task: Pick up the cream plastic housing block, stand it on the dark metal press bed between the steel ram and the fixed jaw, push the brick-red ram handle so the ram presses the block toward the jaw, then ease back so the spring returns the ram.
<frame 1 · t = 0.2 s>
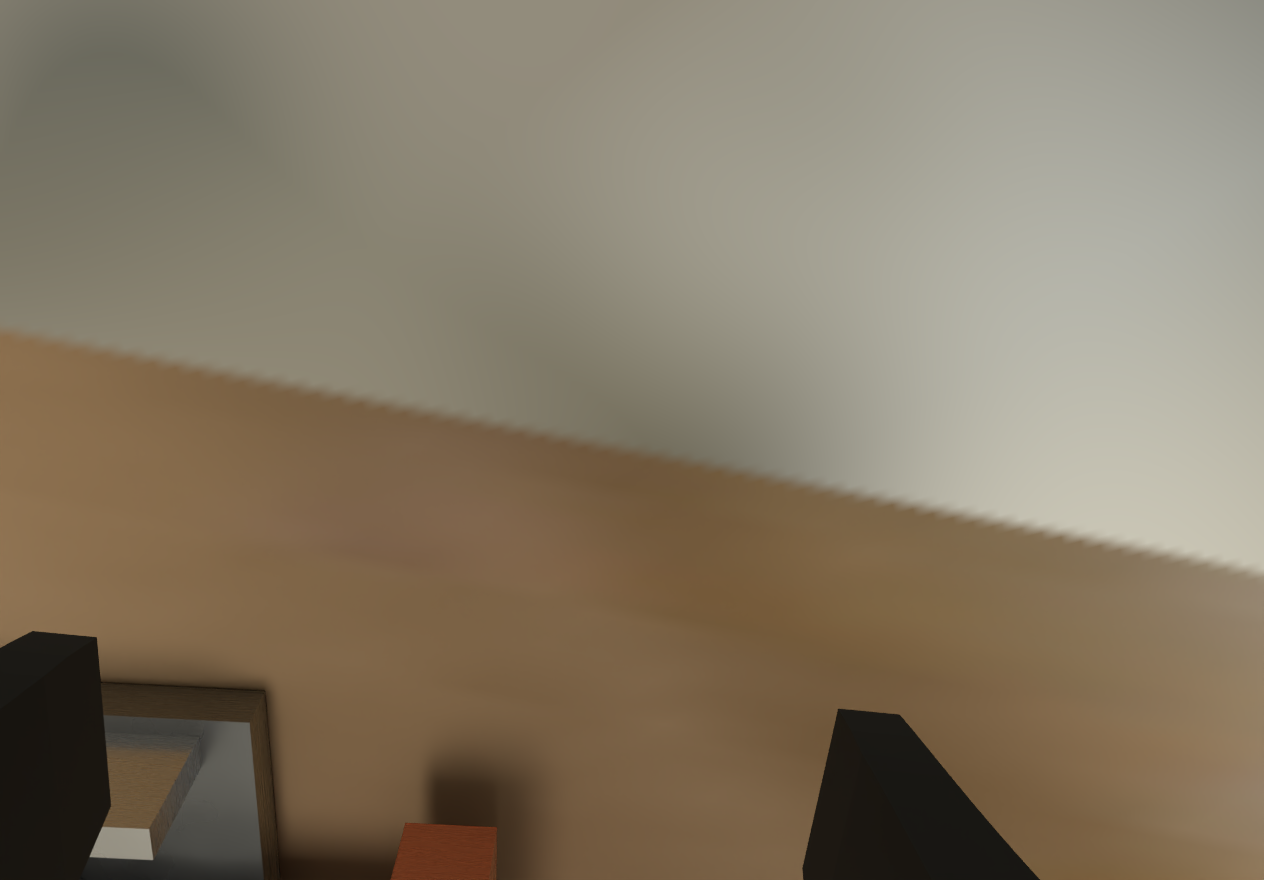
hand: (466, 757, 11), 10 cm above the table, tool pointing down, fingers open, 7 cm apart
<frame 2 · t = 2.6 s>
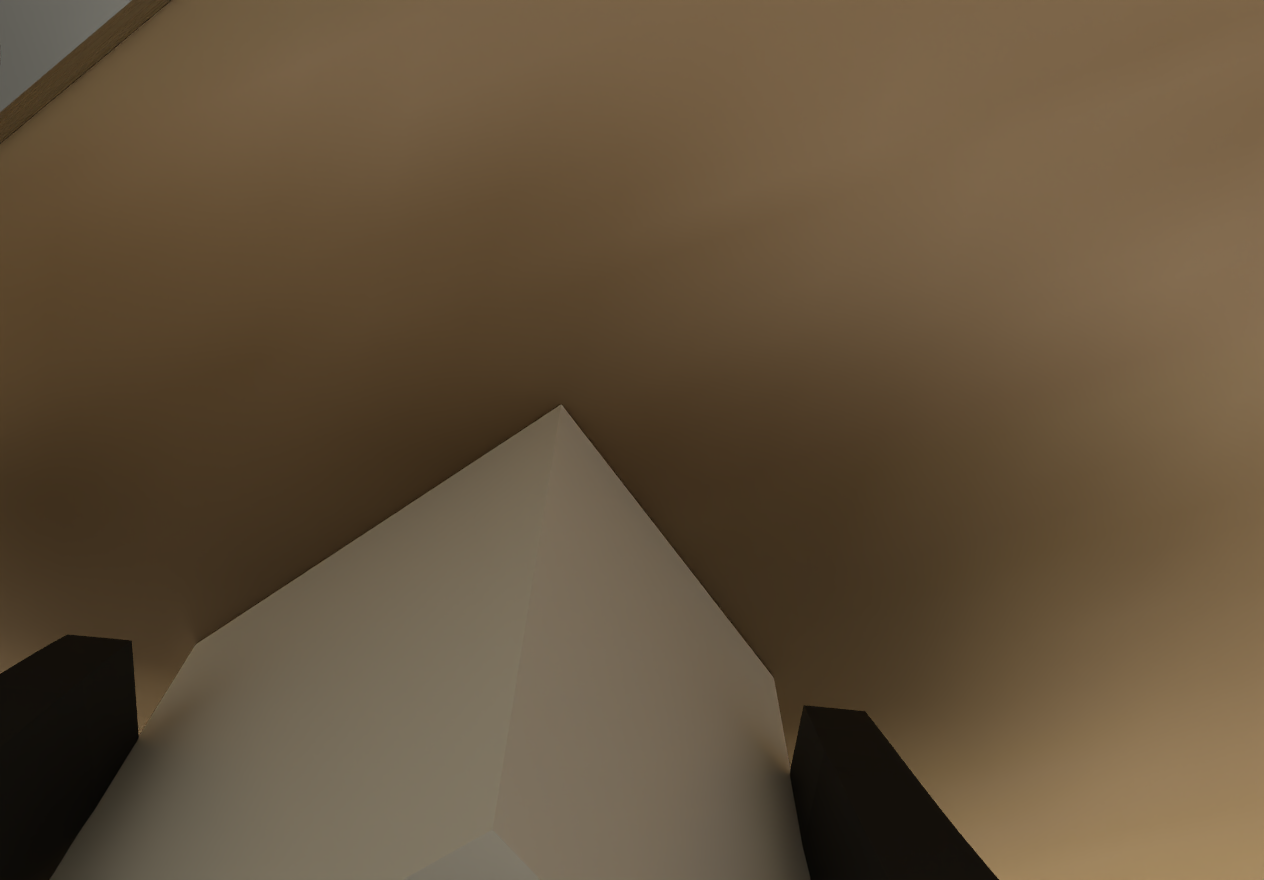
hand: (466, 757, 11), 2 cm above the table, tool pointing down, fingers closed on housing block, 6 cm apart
housing block: (486, 661, 13), on the table, touching gripper
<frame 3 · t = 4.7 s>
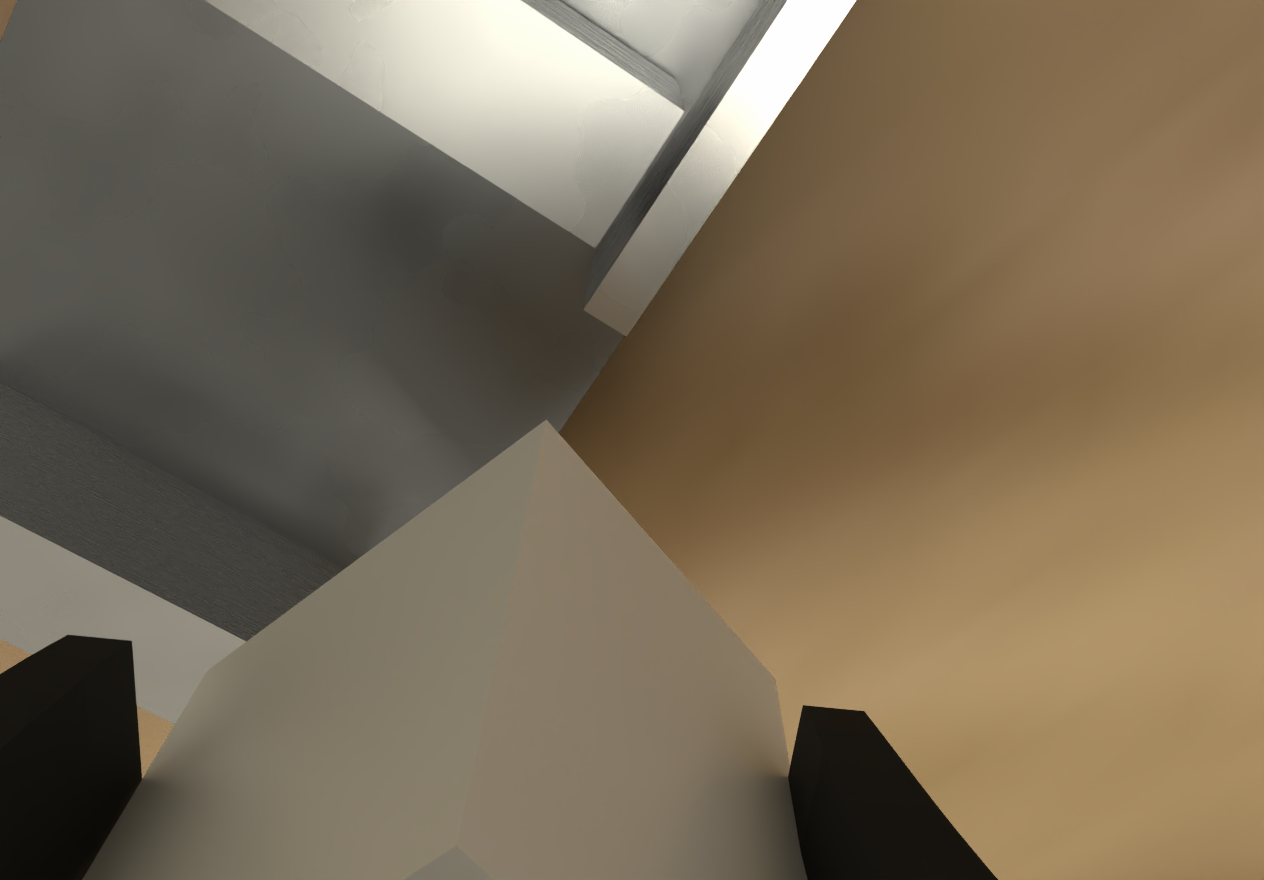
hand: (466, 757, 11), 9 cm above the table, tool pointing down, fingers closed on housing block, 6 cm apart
housing block: (490, 674, 13), point 8 cm above the table, touching gripper
press bed: (352, 165, 18), on the table
when the fingers open (4 cm above the table, at t = 7.0 s): housing block stays where it is, resting on press bed.
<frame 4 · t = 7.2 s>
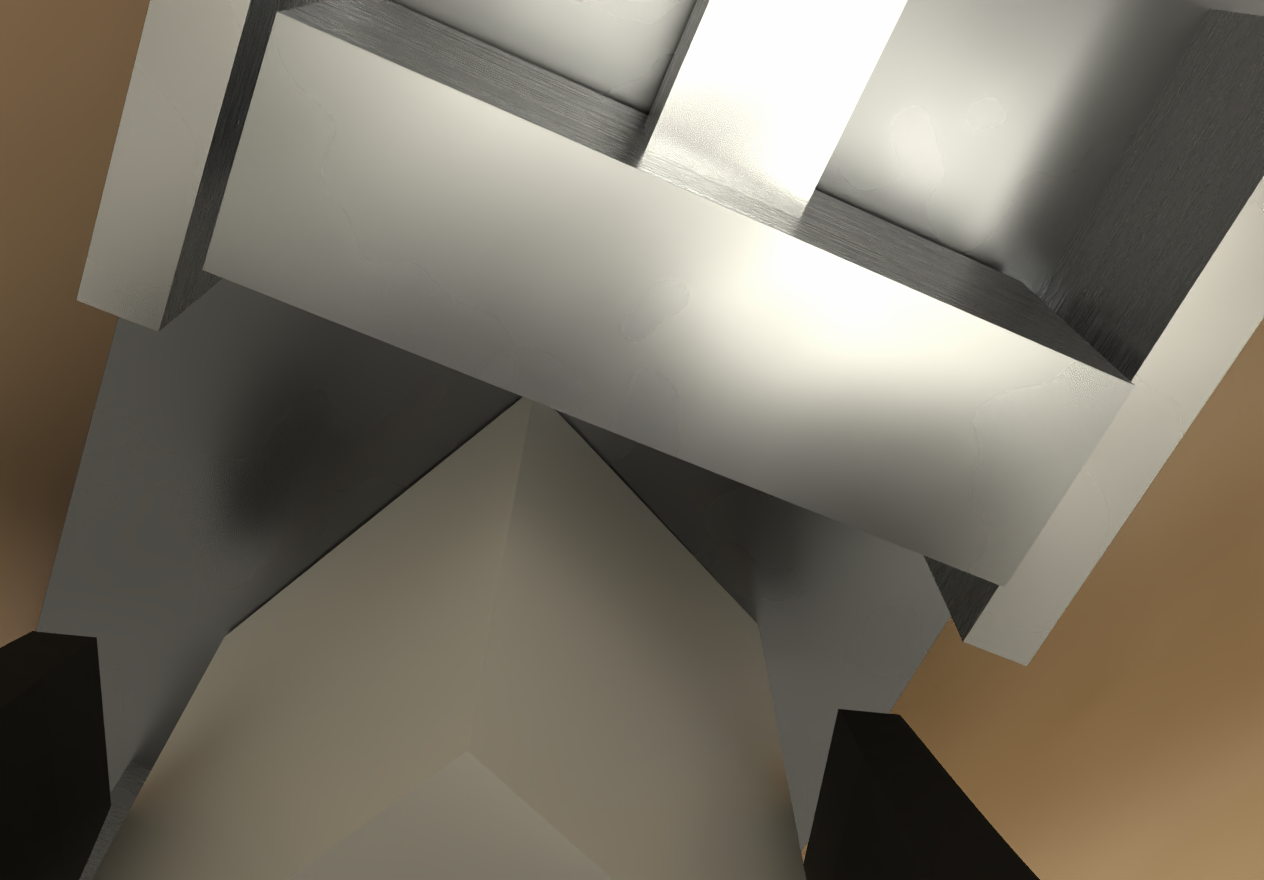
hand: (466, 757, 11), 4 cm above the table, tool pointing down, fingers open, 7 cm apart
housing block: (491, 630, 14), point 1 cm above the table, touching press bed
press bed: (564, 434, 14), on the table
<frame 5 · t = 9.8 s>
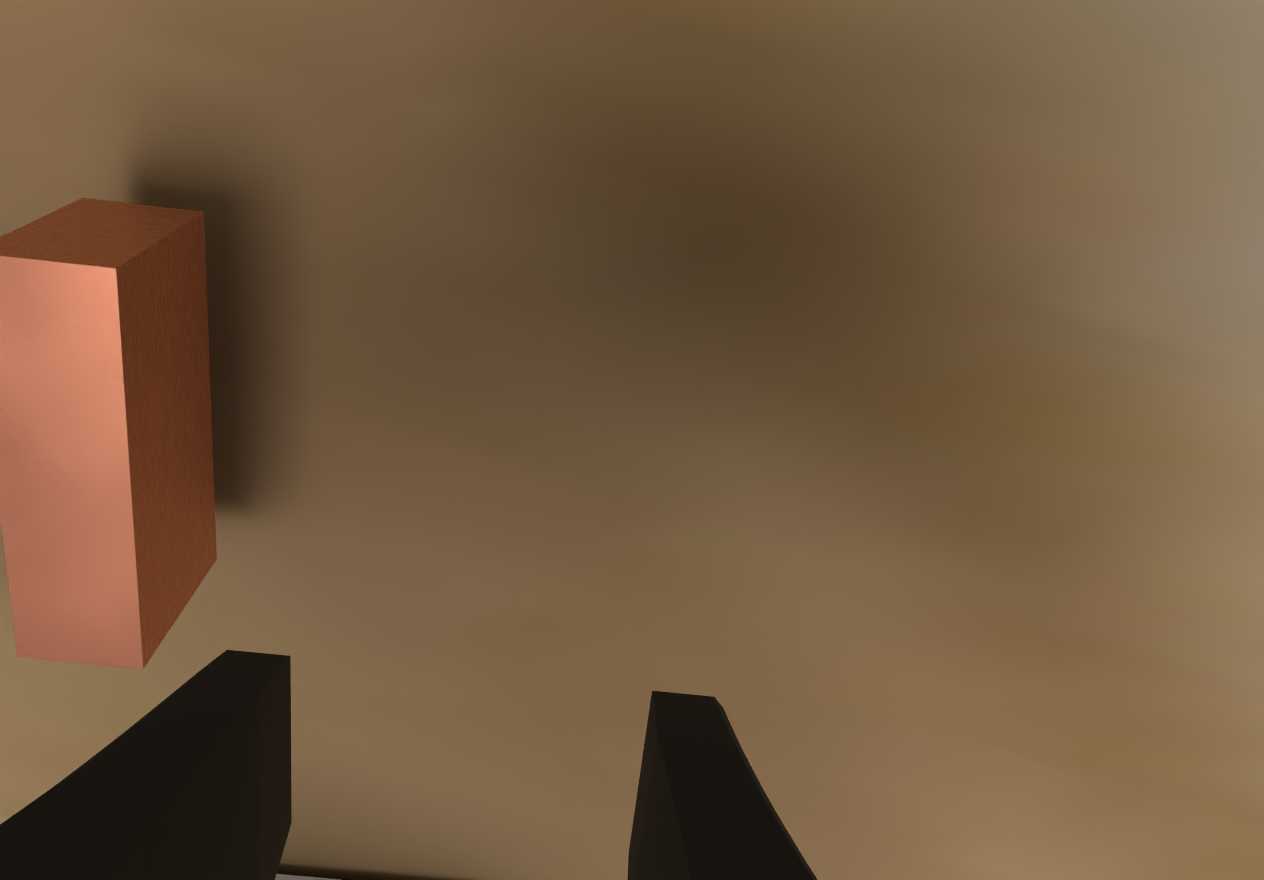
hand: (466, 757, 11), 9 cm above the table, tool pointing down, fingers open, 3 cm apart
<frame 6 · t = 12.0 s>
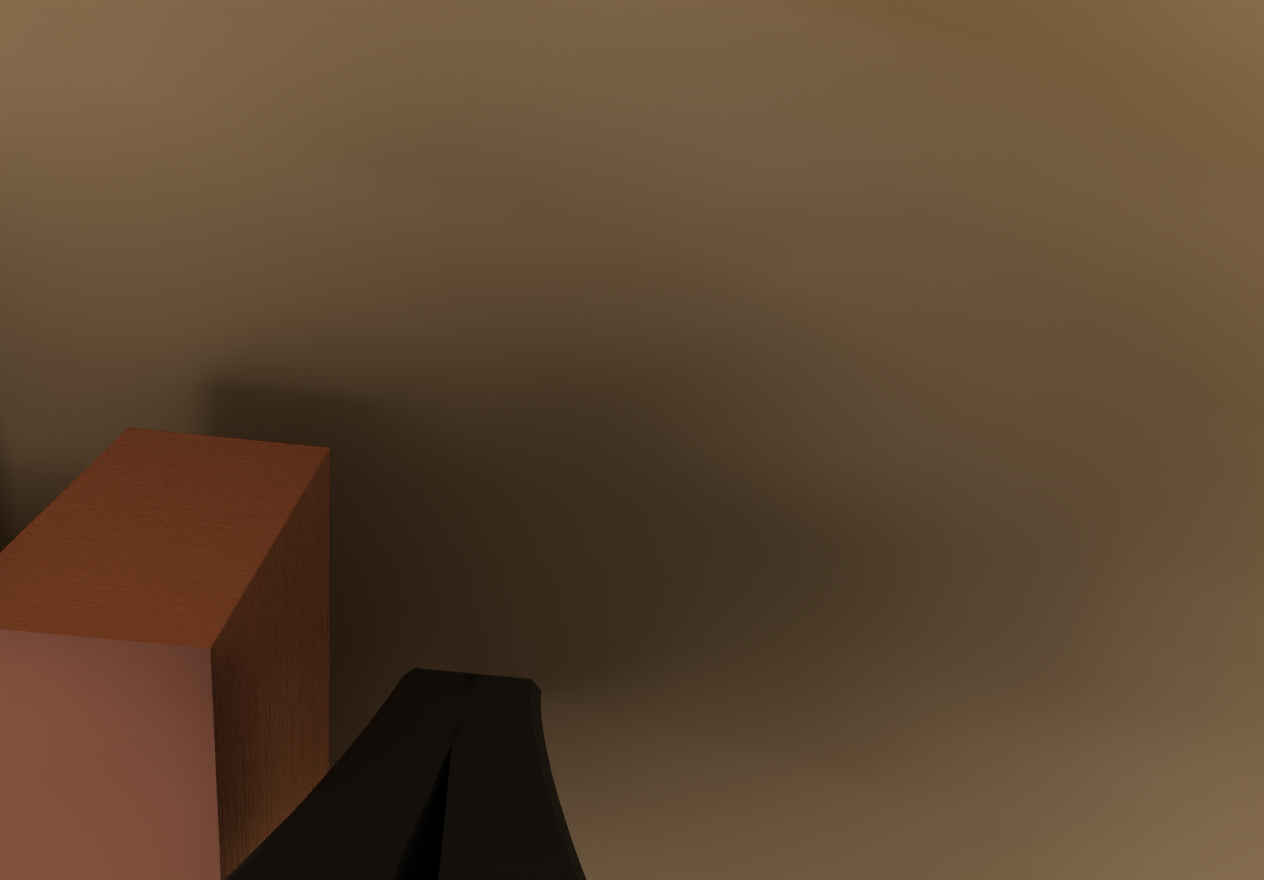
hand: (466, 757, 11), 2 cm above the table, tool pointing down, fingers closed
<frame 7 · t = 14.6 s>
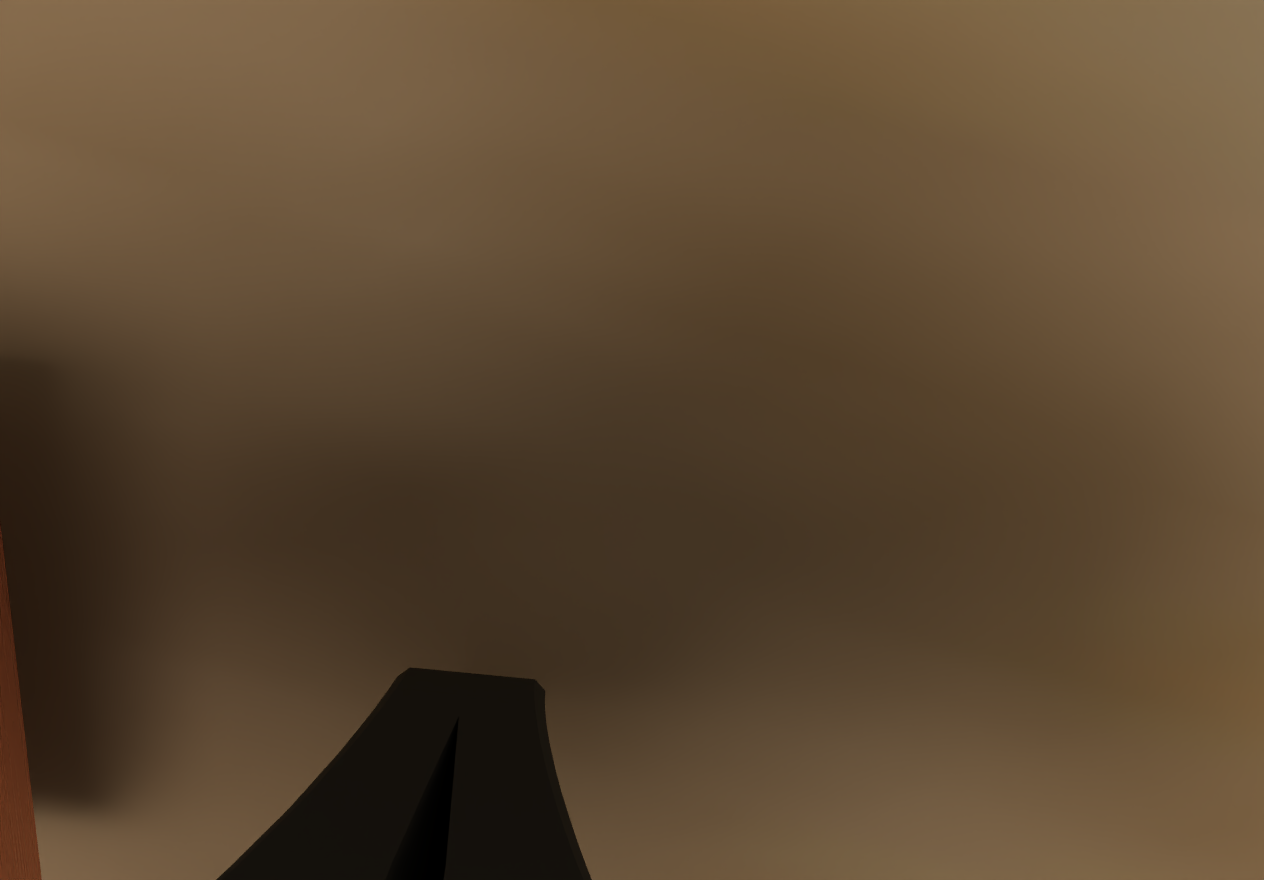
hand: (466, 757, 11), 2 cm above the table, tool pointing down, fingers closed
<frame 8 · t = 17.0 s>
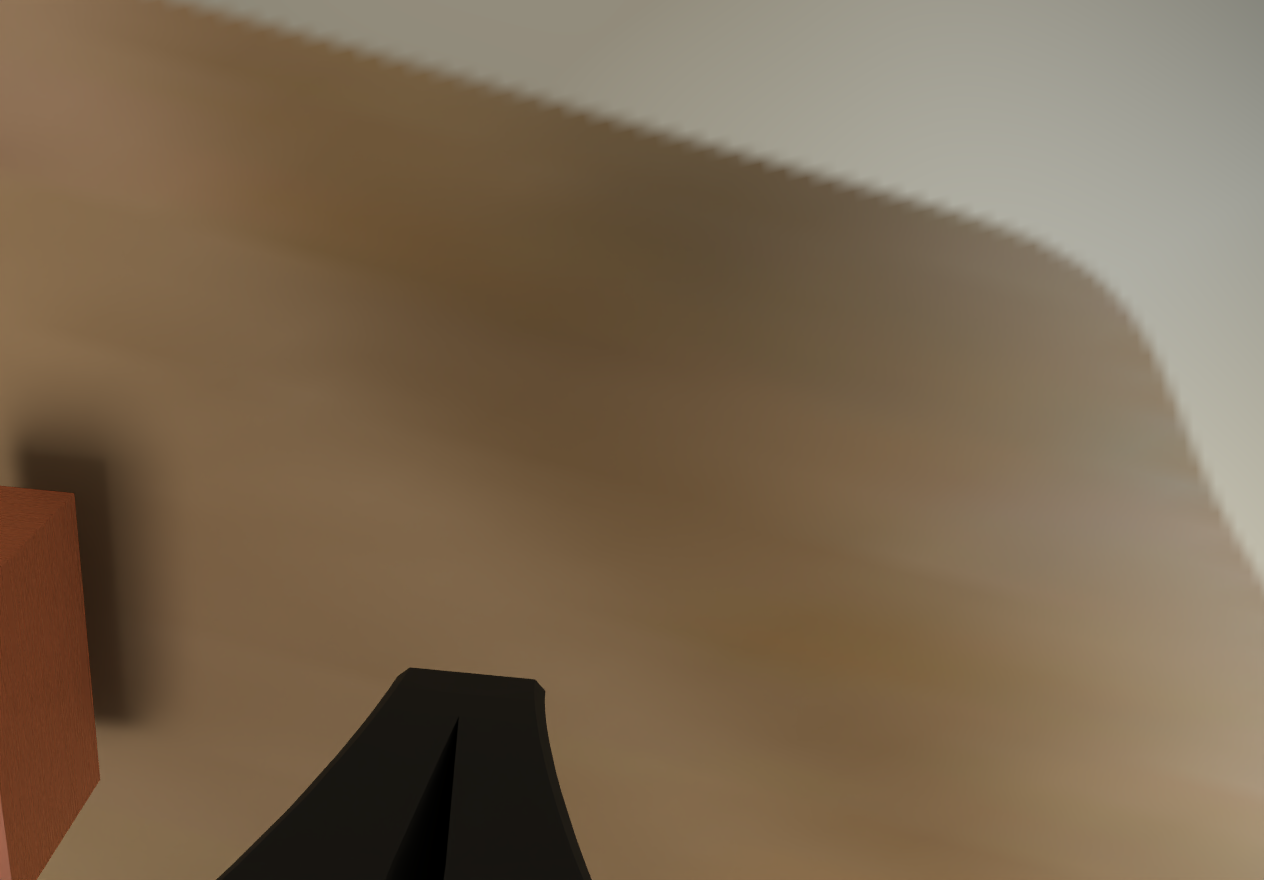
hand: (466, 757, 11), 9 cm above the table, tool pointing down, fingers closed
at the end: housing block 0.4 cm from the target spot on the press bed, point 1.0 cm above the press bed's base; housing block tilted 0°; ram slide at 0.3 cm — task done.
